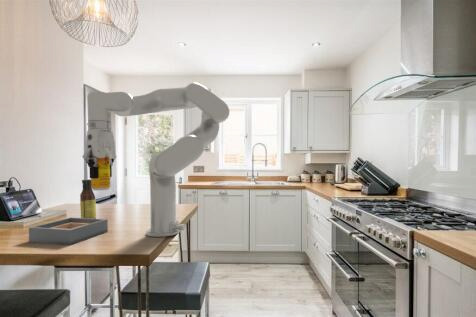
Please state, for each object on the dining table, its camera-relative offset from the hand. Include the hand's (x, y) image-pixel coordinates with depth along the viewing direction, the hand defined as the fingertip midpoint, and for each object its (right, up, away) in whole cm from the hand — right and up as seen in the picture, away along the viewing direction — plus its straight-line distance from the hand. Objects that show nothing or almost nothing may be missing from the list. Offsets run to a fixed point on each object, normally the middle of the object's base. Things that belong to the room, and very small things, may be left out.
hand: (101, 177), depth 102 cm
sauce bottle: (-20, -23, +30) cm, 43 cm away
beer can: (0, -5, 0) cm, 5 cm away
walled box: (-14, -23, +5) cm, 27 cm away
